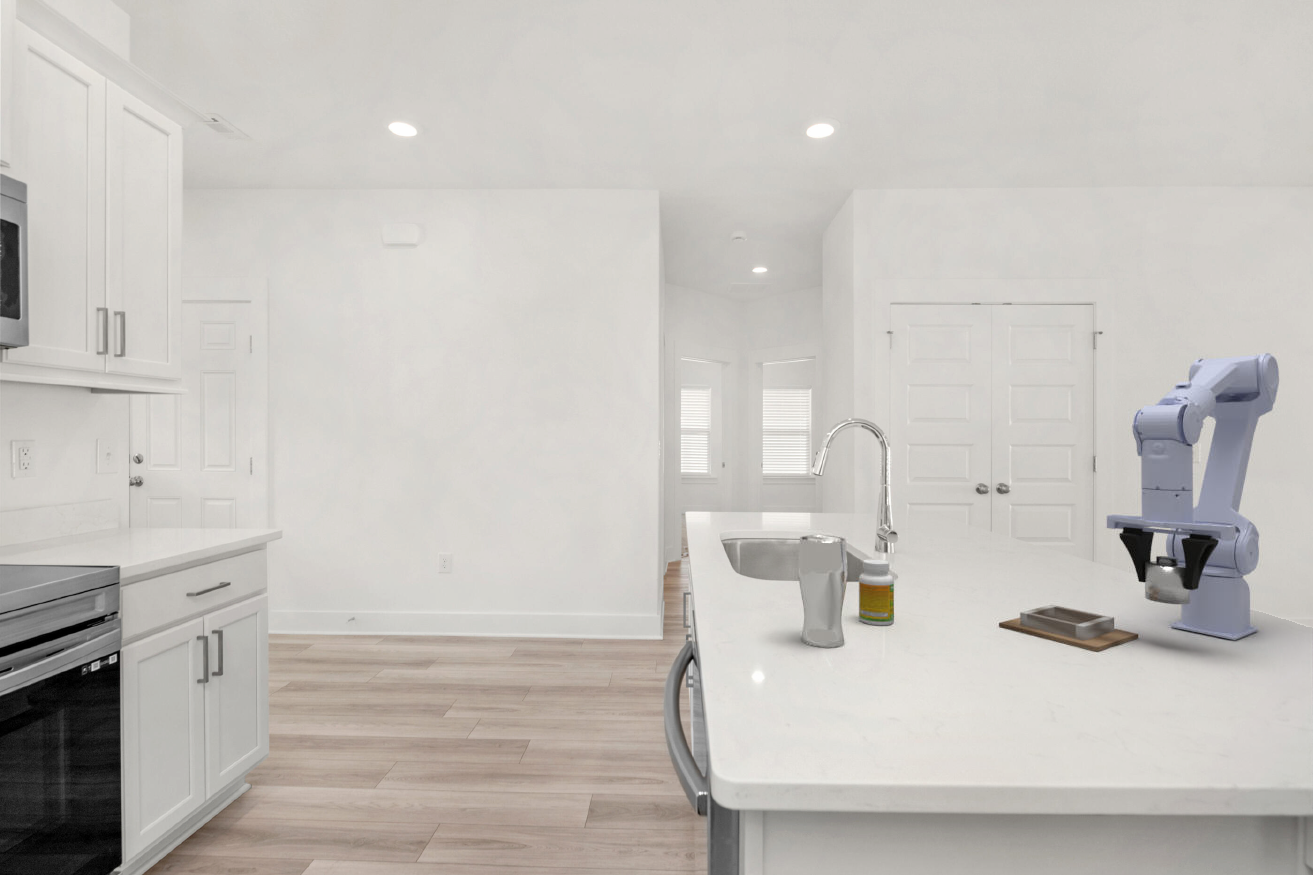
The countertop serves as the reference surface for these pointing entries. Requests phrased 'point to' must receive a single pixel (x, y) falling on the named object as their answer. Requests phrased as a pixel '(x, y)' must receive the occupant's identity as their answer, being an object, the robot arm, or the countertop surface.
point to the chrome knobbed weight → (1166, 581)
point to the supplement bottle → (876, 593)
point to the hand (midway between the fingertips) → (1167, 585)
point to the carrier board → (1070, 627)
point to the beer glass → (822, 588)
